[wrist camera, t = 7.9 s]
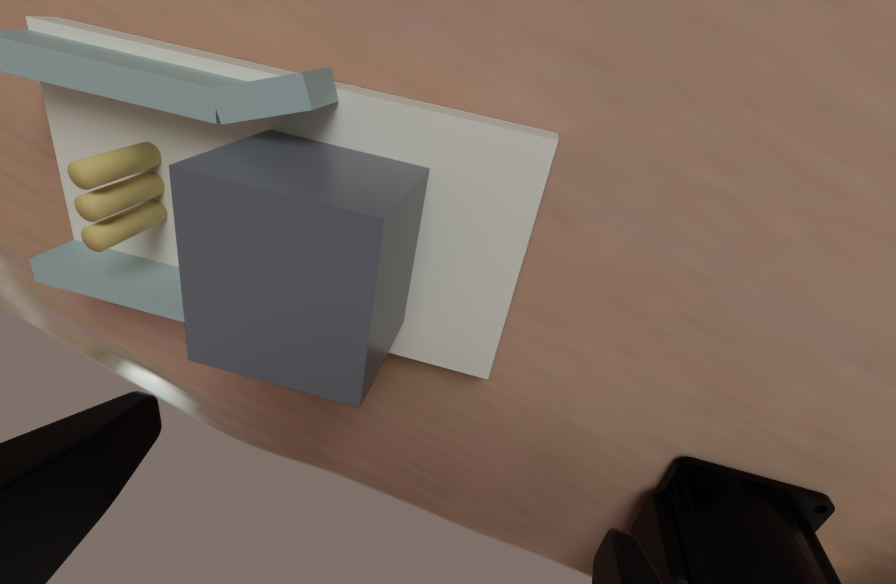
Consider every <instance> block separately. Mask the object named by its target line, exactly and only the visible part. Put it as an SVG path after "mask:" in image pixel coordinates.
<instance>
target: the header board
mask: <svg viewBox="0 0 896 584" xmlns="http://www.w3.org/2000/svg"><path fill="white" fill-rule="evenodd" d="M26 20H27V25H28V29H29V30H0V71H1V72H5V73H9V74H13V75H17V76H21V77H25V78H29V79H34V80H38V81H40V84H41V89H42V94H43V98H44V103H45V107H46V112H47V117H48V121H49V126H50V130H51V135H52V140H53V144H54V149H55V153H56V158H57V163H58V167H59V172H60V176H61V181H62V186H63V190H64V195H65V199H66V204H67V209H68V213H69V218H70V223H71V227H72V232H73V236H74V240H71V241H69V242H67V243H65V244H62V245H60V246H58V247H55V248H53V249H51V250H49V251H46V252H44V253H42V254H39V255H37V256H35V257H33V258H30V263H31V267H32V270H33V274H34V277H35V281H36V282H39V283H43V284H46V285H50V286H54V287H57V288H61V289H64V290H68V291H72V292H75V293H79V294H82V295H86V296H90V297H93V298H97V299H101V300H104V301H108V302H111V303H115V304H119V305H122V306H126V307H130V308H133V309H137V310H140V311H144V312H148V313H151V314H155V315H158V316H162V317H166V318H169V319H173V320H177V321H180V322H184V312H183V302H182V292H181V283H180V273H179V263H178V253H177V243H176V233H175V224H174V214H173V204H172V194H171V184H170V174H169V165H170V164H173V163H176V162H179V161H181V160H184V159H187V158H190V157H193V156H196V155H198V154H201V153H204V152H207V151H210V150H213V149H215V148H218V147H221V146H224V145H227V144H230V143H232V142H235V141H238V140H241V139H244V138H247V137H250V136H252V135H255V134H258V133H261V132H264V131H267V130H269V129H270V130H274V131H279V132H283V133H287V134H291V135H295V136H299V137H303V138H307V139H311V140H316V141H320V142H324V143H328V144H332V145H336V146H340V147H344V148H349V149H353V150H357V151H361V152H365V153H369V154H373V155H377V156H382V157H386V158H390V159H394V160H398V161H402V162H406V163H410V164H414V165H419V166H423V167H427V168H430V170H429V176H428V182H427V188H426V193H425V199H424V205H423V211H422V217H421V223H420V229H419V235H418V240H417V246H416V252H415V258H414V264H413V270H412V276H411V282H410V287H409V293H408V299H407V305H406V311H405V317H404V323H403V325H402V326H401V328H400V330H399V332H398V334H397V336H396V338H395V340H394V342H393V344H392V346H391V348H390V350H389V352H388V353H392V354H396V355H399V356H403V357H407V358H410V359H414V360H418V361H421V362H425V363H429V364H432V365H436V366H440V367H443V368H447V369H451V370H454V371H458V372H462V373H465V374H469V375H473V376H476V377H480V378H484V379H487V380H488V377H489V374H490V371H491V367H492V364H493V360H494V357H495V354H496V350H497V347H498V343H499V340H500V337H501V333H502V330H503V327H504V323H505V320H506V316H507V313H508V310H509V306H510V303H511V299H512V296H513V293H514V289H515V286H516V282H517V279H518V276H519V272H520V269H521V265H522V262H523V259H524V255H525V252H526V248H527V245H528V242H529V238H530V235H531V232H532V228H533V225H534V221H535V218H536V215H537V211H538V208H539V204H540V201H541V198H542V194H543V191H544V187H545V184H546V181H547V177H548V174H549V170H550V167H551V164H552V160H553V157H554V153H555V150H556V147H557V143H558V133H555V132H551V131H547V130H543V129H538V128H534V127H530V126H525V125H521V124H517V123H512V122H508V121H504V120H499V119H495V118H491V117H486V116H482V115H478V114H474V113H469V112H465V111H461V110H456V109H452V108H448V107H443V106H439V105H435V104H430V103H426V102H422V101H417V100H413V99H409V98H405V97H400V96H396V95H392V94H387V93H383V92H379V91H374V90H370V89H366V88H361V87H357V86H353V85H348V84H344V83H340V82H335V81H334V79H333V74H332V70H331V67H329V68H323V69H317V70H311V71H305V72H299V73H297V72H292V71H288V70H284V69H279V68H275V67H271V66H266V65H262V64H258V63H254V62H249V61H245V60H241V59H236V58H232V57H228V56H223V55H219V54H215V53H210V52H206V51H202V50H197V49H193V48H189V47H185V46H180V45H176V44H172V43H167V42H163V41H159V40H154V39H150V38H146V37H141V36H137V35H133V34H128V33H124V32H120V31H116V30H111V29H107V28H103V27H98V26H94V25H90V24H85V23H81V22H77V21H72V20H68V19H64V18H59V17H36V16H26ZM184 323H185V322H184Z"/></svg>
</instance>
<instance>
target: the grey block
mask: <svg viewBox="0 0 896 584" xmlns="http://www.w3.org/2000/svg"><path fill="white" fill-rule="evenodd" d="M429 170H430V168H427V167H423V166H419V165H414V164H410V163H406V162H402V161H398V160H394V159H390V158H386V157H382V156H377V155H373V154H369V153H365V152H361V151H357V150H353V149H349V148H344V147H340V146H336V145H332V144H328V143H324V142H320V141H316V140H311V139H307V138H303V137H299V136H295V135H291V134H287V133H283V132H279V131H274V130H270V129H269V130H267V131H264V132H261V133H258V134H255V135H252V136H250V137H247V138H244V139H241V140H238V141H235V142H232V143H230V144H227V145H224V146H221V147H218V148H215V149H213V150H210V151H207V152H204V153H201V154H198V155H196V156H193V157H190V158H187V159H184V160H181V161H179V162H176V163H173V164H170V165H169V174H170V184H171V194H172V204H173V214H174V224H175V233H176V243H177V253H178V263H179V273H180V283H181V292H182V302H183V312H184V322H185V332H186V342H187V351H188V360H191V361H194V362H198V363H201V364H205V365H208V366H212V367H215V368H219V369H223V370H226V371H230V372H233V373H237V374H240V375H244V376H247V377H251V378H254V379H258V380H261V381H265V382H268V383H272V384H276V385H279V386H283V387H286V388H290V389H293V390H297V391H300V392H304V393H307V394H311V395H314V396H318V397H322V398H325V399H329V400H332V401H336V402H339V403H343V404H346V405H350V406H353V407H357V408H360V407H361V405H362V403H363V401H364V399H365V397H366V395H367V393H368V391H369V389H370V387H371V385H372V383H373V381H374V379H375V377H376V375H377V373H378V371H379V370H380V368H381V366H382V364H383V362H384V360H385V358H386V356H387V354H388V352H389V350H390V348H391V346H392V344H393V342H394V340H395V338H396V336H397V334H398V332H399V330H400V328H401V326H402V325H403V323H404V317H405V311H406V305H407V299H408V293H409V287H410V282H411V276H412V270H413V264H414V258H415V252H416V246H417V240H418V235H419V229H420V223H421V217H422V211H423V205H424V199H425V193H426V188H427V182H428V176H429Z"/></svg>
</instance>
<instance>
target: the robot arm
mask: <svg viewBox="0 0 896 584" xmlns="http://www.w3.org/2000/svg"><path fill="white" fill-rule="evenodd" d="M161 427H162V426H161V418H160V412H159V405H158V401H157V398H156V397H155V396H153V395H150V394H146V393H143V392H139V391H134V392H131V393H127V394H125V395H122V396H120V397H117V398H115V399H112V400H110V401H107V402H104V403H102V404H99V405H97V406H94V407H92V408H89V409H86V410H84V411H81V412H79V413H76V414H74V415H71V416H69V417H66V418H64V419H61V420H58V421H56V422H53V423H51V424H48V425H45V426H43V427H40V428H38V429H36V430H33V431H30V432H28V433H25V434H23V435H20V436H17V437H15V438H12V439H10V440H7V441H5V442H2V443H0V584H46V583H47V582H48V580H49V579H50V578H51V577H52V576H53V574H54V573H55V572H56V571H57V570H58V568H59V567H60V566H61V565H62V564H63V562H64V561H65V560H66V559H67V558H68V556H69V555H70V554H71V553H72V551H73V550H74V549H75V548H76V547H77V546H78V544H79V543H80V542H81V541H82V540H83V539H84V537H85V536H86V535H87V534H88V532H89V531H90V530H91V529H92V527H94V525H95V524H96V523H97V522H98V521H99V519H100V518H101V517H102V516H103V514H104V513H105V512H106V510H107V509H108V508H109V507H110V505H111V504H112V503H113V501H114V500H115V499H116V497H117V496H118V495H119V493H120V492H121V490H122V489H123V487H124V486H125V485H126V483H127V481H128V480H129V479H130V477H131V476H132V474H133V473H134V472H135V470H136V468H137V467H138V466H139V464H140V463H141V461H142V460H143V459H144V457H145V456H146V454H147V452H148V451H149V450H150V448H151V447H152V445H153V444H154V443H155V441H156V440H157V438H158V436H159V434H160V431H161ZM686 468H690V469H686ZM834 510H835V507H834V505H833V503H832V501H831V500H830V498H829V497H828V496H827V495H825V494H823V493H819V492H815V491H812V490H808V489H805V488H801V487H797V486H794V485H790V484H786V483H783V482H779V481H775V480H772V479H768V478H765V477H761V476H757V475H754V474H750V473H746V472H743V471H739V470H736V469H732V468H728V467H725V466H721V465H717V464H714V463H710V462H707V461H703V460H699V459H696V458H692V457H681V458H679V459H677V460H676V461H675V462H674V464H673V465H672V467H671V469H670V470H669V472H668V474H667V475H666V477H665V478H664V480H663V482H662V483H661V485H660V487H659V488H658V490H657V491H656V492H654V493H653V494H652V495H651V496H650V498H649V499H648V501H647V503H646V504H645V506H644V508H643V509H642V511H641V513H640V514H639V516H638V518H637V519H636V521H635V523H634V524H633V526H632V532H631V533H629V532H625V531H622V530H618V529H615V528H611V529H609V530H608V532H607V533H606V535H605V537H604V539H603V541H602V543H601V545H600V547H599V549H598V550H597V552H596V554H595V558H594V562H593V576H592V584H841V582H840V580H839V578H838V576H837V574H836V572H835V570H834V569H833V567H832V565H831V563H830V561H829V559H828V557H827V555H826V553H825V551H824V549H823V547H822V545H821V544H820V542H819V540H818V538H817V536H816V534H815V532H816V531H817V530H818V529H819V528H820V526H821V525H822V524H823V523H824V522H825V521H826V520H827V519H828V518H829V517H830V516H831V514H832V513H833V512H834Z"/></svg>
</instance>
